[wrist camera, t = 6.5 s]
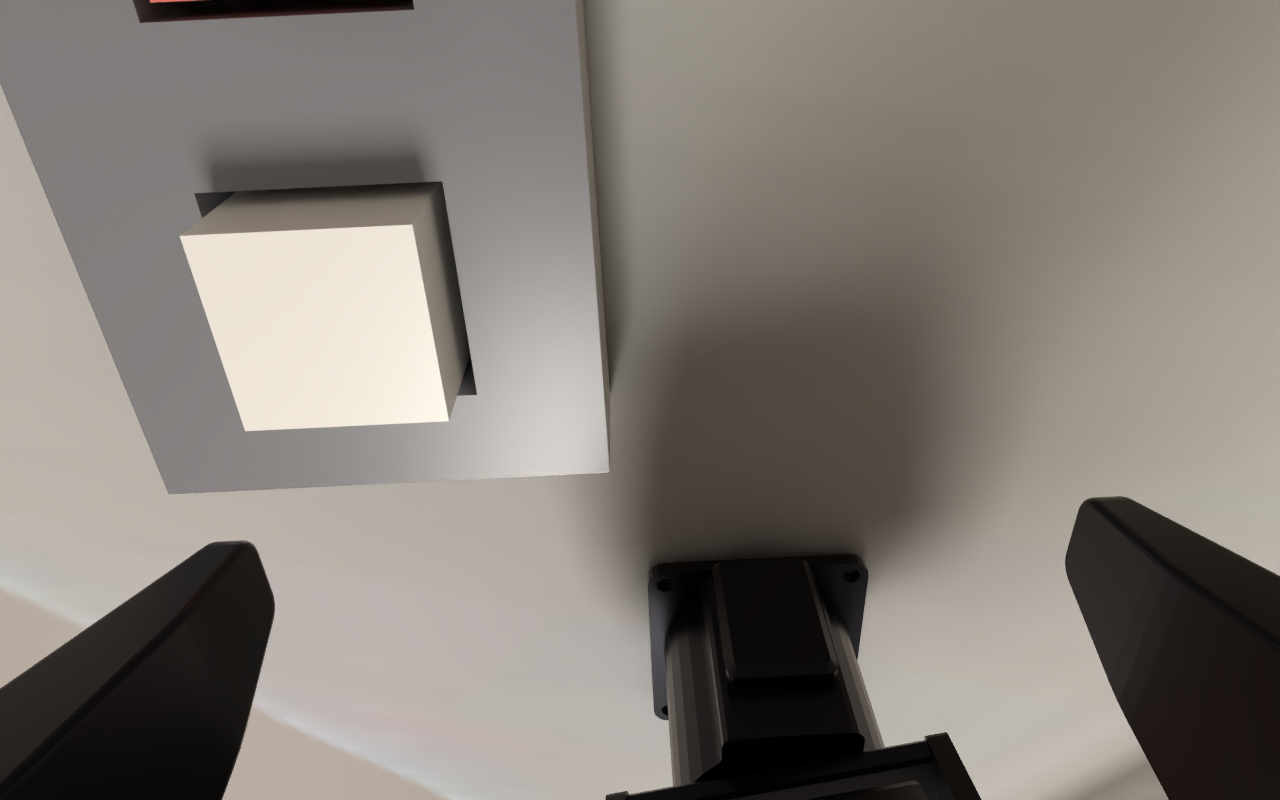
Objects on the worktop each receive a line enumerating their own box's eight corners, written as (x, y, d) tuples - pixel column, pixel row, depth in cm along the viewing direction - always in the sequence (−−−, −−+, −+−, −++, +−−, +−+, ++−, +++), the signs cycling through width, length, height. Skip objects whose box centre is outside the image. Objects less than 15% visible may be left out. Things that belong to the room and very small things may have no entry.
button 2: (471, 350, 19) (449, 420, 16) (295, 359, 19) (245, 431, 16) (442, 175, 17) (412, 224, 14) (245, 184, 17) (179, 235, 14)
